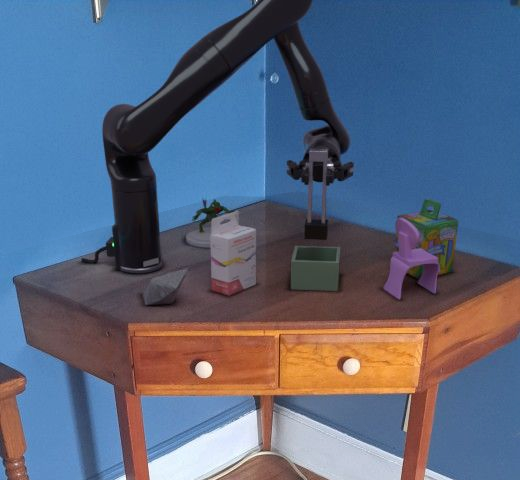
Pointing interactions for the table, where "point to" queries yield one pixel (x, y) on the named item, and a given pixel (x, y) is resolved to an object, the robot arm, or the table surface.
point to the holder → (315, 268)
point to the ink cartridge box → (232, 255)
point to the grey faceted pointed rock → (164, 288)
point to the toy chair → (410, 260)
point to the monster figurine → (203, 234)
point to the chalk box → (433, 236)
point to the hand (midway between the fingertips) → (317, 179)
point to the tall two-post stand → (320, 227)
